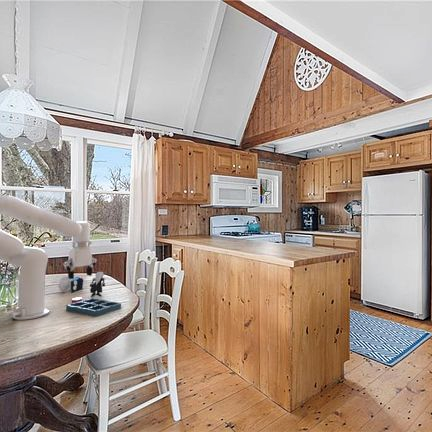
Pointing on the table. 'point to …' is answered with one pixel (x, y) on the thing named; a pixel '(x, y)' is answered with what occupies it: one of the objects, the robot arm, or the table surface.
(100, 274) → the toy
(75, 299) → the cylinder
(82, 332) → the table surface
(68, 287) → the toy
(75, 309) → the grid
